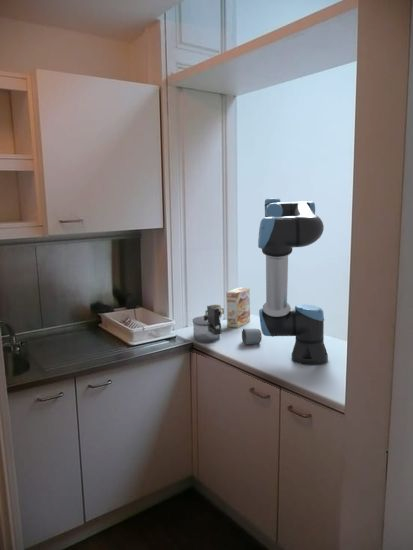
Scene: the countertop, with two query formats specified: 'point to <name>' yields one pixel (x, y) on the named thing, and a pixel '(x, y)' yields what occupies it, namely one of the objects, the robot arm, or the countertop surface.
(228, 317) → the coffeecake box
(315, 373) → the countertop surface
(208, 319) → the lid
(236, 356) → the countertop surface
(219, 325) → the character mug
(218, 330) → the pot
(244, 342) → the ceramic mug
